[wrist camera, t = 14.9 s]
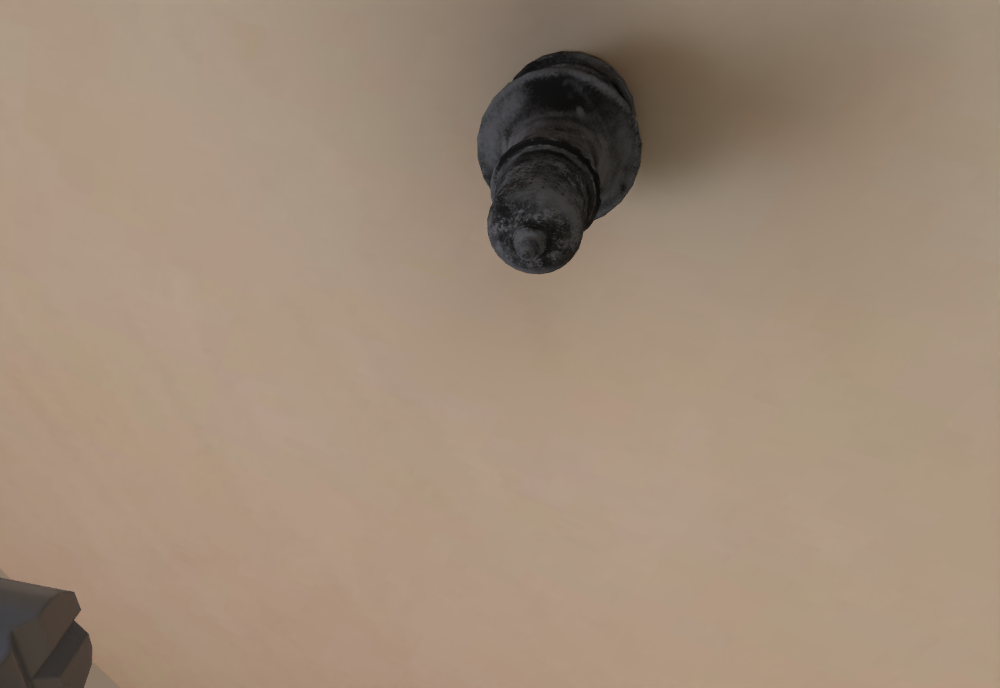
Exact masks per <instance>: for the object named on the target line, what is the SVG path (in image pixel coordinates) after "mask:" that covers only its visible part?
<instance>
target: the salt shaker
mask: <svg viewBox="0 0 1000 688" xmlns="http://www.w3.org/2000/svg"><path fill="white" fill-rule="evenodd" d="M477 142H478V160H479V164H480V167H481V170H482V174H483V177H484V179H485V181H486V183H487V184H488V186H489V188H490V189H491V198H492V202H493V203H492V205H491V207H490V211H489V215H488V219H487V221H488V236H489V239H490V242H491V245H492V247H493V248H494V250H495V252H496V253H497V255H498V256H499V257H500V258H501V259H502V260H503V261H504V262H505V263H506V264H508V265H509V266H511V267H513V268H515V269H516V270H519V271H522V272H525V273H531V274H544V273H550V272H553V271H555V270H557V269H559V268H561V267H563V266H564V265H565V264H566V263H568V262H569V261H570V260H571V259H572V257H573V256H574V254H575V253H576V252H577V250H578V249H579V246H580V243H581V240H582V236H583V232H584V231H585V230H586V229H588V228H589V227H590V225H591V224H592V222H593V221H594V220H596V219H598V218H600V217H602V216H604V215H606V214H607V213H608V212H609V211H611V210H612V209H613V208H614V207H615V206H617V205H618V204H619V203H620V202H621V201H622V200H623V198H624V197H625V196H626V194H627V193H628V191H629V190H630V189H631V187H632V186H633V183H634V181H635V178H636V175H637V173H638V170H639V167H640V159H641V147H642V143H641V138H640V133H639V128H638V123H637V121H636V112H635V107H634V102H633V97H632V95H631V93H630V91H629V89H628V87H627V85H626V83H625V81H624V80H623V79H622V78H621V77H620V76H619V74H618V73H617V72H616V71H615V70H614V69H613V68H612V67H611V66H609V65H608V64H606V63H604V62H603V61H601V60H600V59H598V58H596V57H593V56H590V55H587V54H583V53H580V52H557V53H553V54H549V55H545V56H542V57H540V58H538V59H537V60H535V61H533V62H531V63H529V64H528V65H526V66H525V67H524V68H523V69H522V70H521V71H520V72H519V73H518V74H517V75H516V76H515V77H514V79H513V81H512V82H510V83H508V84H507V85H506V86H505V87H504V88H503V89H502V90H501V91H500V92H499V93H498V94H497V95H496V96H495V97H494V98H493V100H492V101H491V103H490V105H489V107H488V108H487V110H486V112H485V114H484V116H483V117H482V121H481V125H480V129H479V133H478V137H477Z"/></svg>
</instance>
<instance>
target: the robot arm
mask: <svg viewBox="0 0 1000 688" xmlns="http://www.w3.org/2000/svg"><path fill="white" fill-rule="evenodd" d="M80 611H81V608H80V606H79V603H78V600H77V598H76V595H75V593H74V592H72V591H67V590H62V589H57V588H51V587H46V586H41V585H36V584H31V583H25V582H20V581H15V580H10V579H5V578H0V688H84V686H85V683H86V680H87V677H88V674H89V671H90V668H91V665H92V644H91V641H90V637H89V634H88V633H87V632H86V631H85V630H84V629H83V628H82V627H81V626H80V625H78V624H77V623H76V622H75V621H74V619H75V618H76V616H77V615H78V614H79V612H80Z"/></svg>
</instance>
